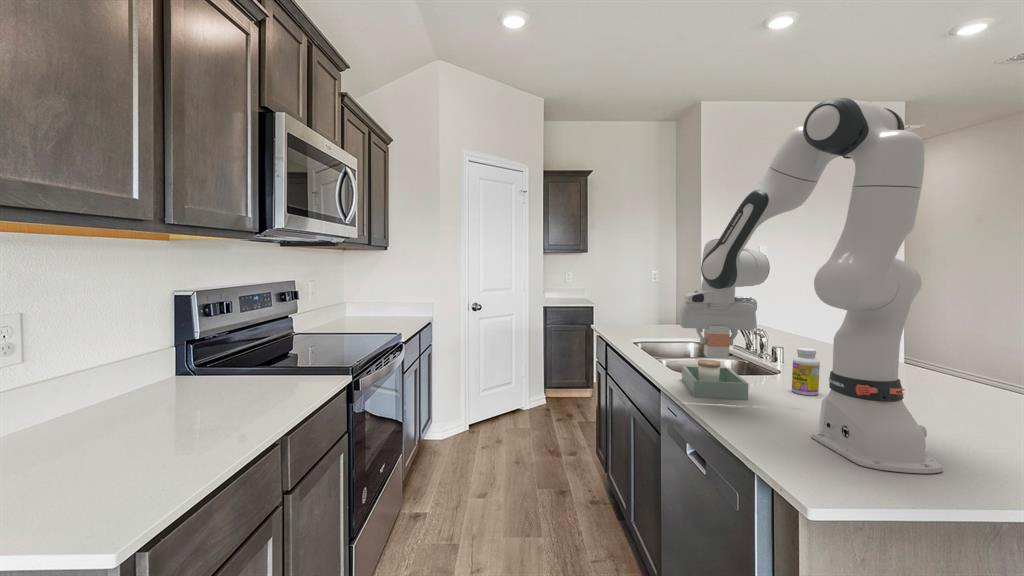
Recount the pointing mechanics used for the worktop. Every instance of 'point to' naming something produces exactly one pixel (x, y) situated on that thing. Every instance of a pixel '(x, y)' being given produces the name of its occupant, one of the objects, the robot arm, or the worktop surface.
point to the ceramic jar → (708, 370)
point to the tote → (715, 384)
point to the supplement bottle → (805, 372)
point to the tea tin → (717, 341)
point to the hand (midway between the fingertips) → (716, 344)
